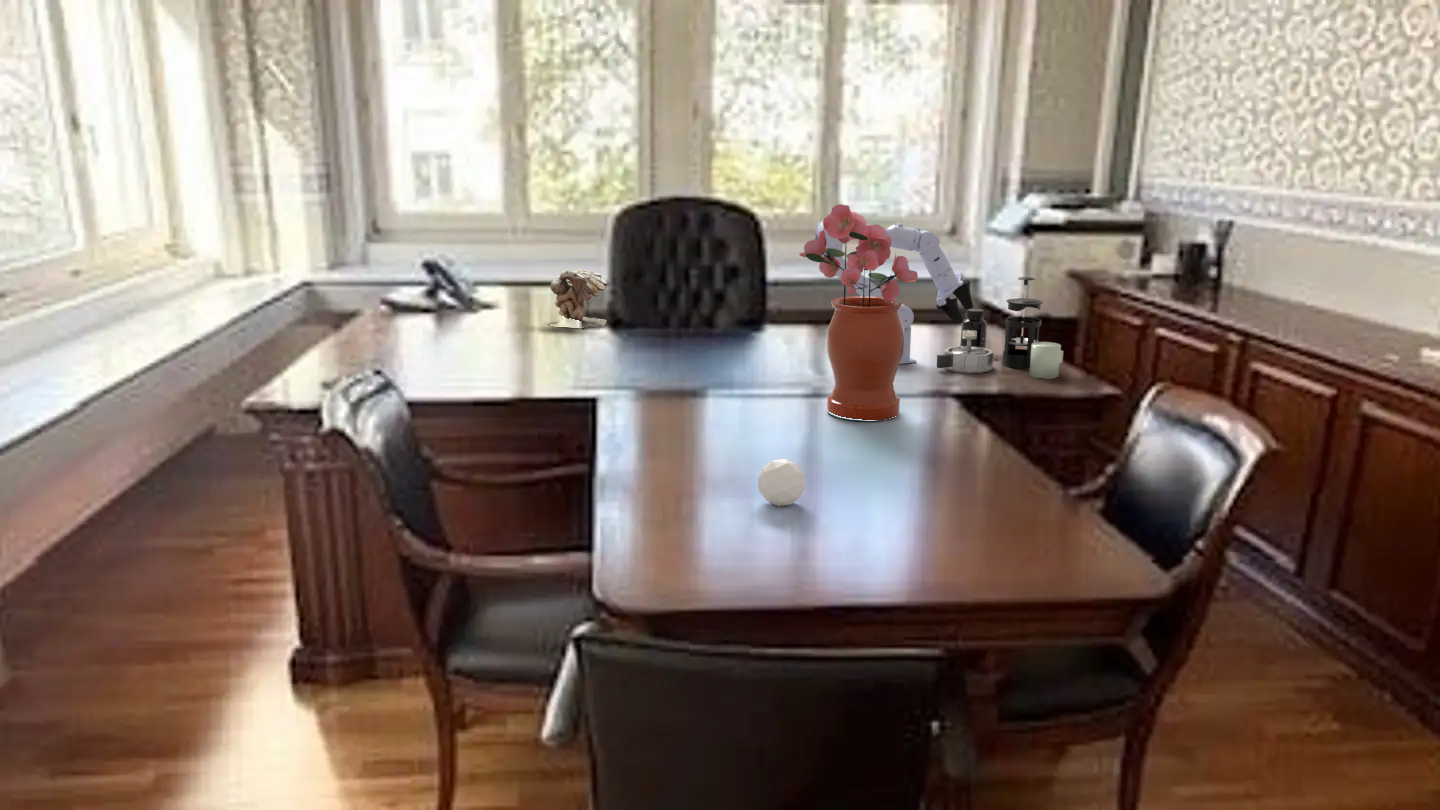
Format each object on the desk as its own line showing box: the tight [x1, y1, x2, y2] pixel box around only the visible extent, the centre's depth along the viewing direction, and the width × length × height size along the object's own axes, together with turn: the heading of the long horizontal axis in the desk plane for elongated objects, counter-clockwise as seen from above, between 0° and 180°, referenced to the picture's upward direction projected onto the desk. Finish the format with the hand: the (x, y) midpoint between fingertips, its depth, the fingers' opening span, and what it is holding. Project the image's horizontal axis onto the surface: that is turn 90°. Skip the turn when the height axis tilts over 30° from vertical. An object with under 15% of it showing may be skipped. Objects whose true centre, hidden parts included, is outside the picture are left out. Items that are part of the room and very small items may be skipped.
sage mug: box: [1028, 341, 1064, 379], centre depth 262 cm, size 9×7×8 cm
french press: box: [1001, 276, 1044, 370], centre depth 273 cm, size 12×9×23 cm
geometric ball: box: [757, 458, 806, 507], centre depth 174 cm, size 8×8×8 cm
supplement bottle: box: [959, 308, 988, 348], centre depth 288 cm, size 7×7×12 cm
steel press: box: [936, 345, 994, 374], centre depth 270 cm, size 15×12×5 cm
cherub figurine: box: [550, 268, 608, 329], centre depth 334 cm, size 18×18×18 cm
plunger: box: [951, 330, 986, 355], centre depth 270 cm, size 9×9×6 cm
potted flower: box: [798, 204, 919, 421], centre depth 226 cm, size 19×25×45 cm
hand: (964, 315), depth 279 cm, fingers open, 7 cm apart
